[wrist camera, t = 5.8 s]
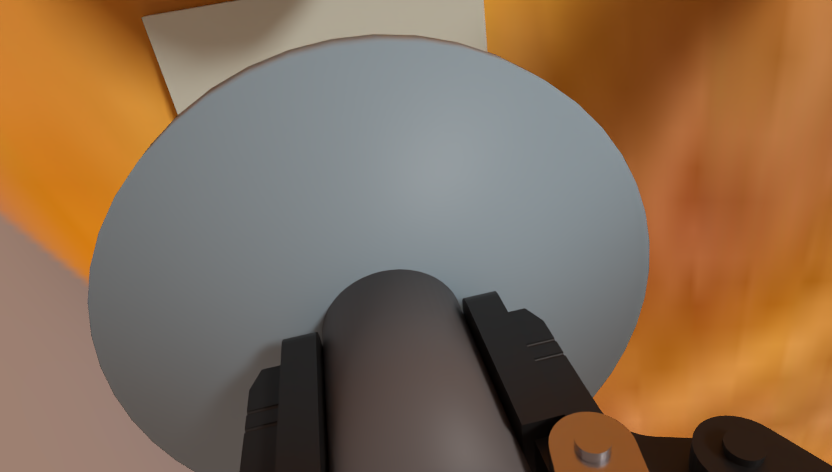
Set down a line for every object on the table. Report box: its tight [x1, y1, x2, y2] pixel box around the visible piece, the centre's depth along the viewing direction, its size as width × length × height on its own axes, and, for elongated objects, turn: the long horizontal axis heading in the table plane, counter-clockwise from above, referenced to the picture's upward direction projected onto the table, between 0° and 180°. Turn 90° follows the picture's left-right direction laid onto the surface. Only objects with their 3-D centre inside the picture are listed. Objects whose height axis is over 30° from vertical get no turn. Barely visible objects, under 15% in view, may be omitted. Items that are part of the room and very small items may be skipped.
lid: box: [88, 34, 649, 472], centre depth 10 cm, size 12×12×6 cm
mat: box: [142, 0, 487, 114], centre depth 28 cm, size 16×12×1 cm
